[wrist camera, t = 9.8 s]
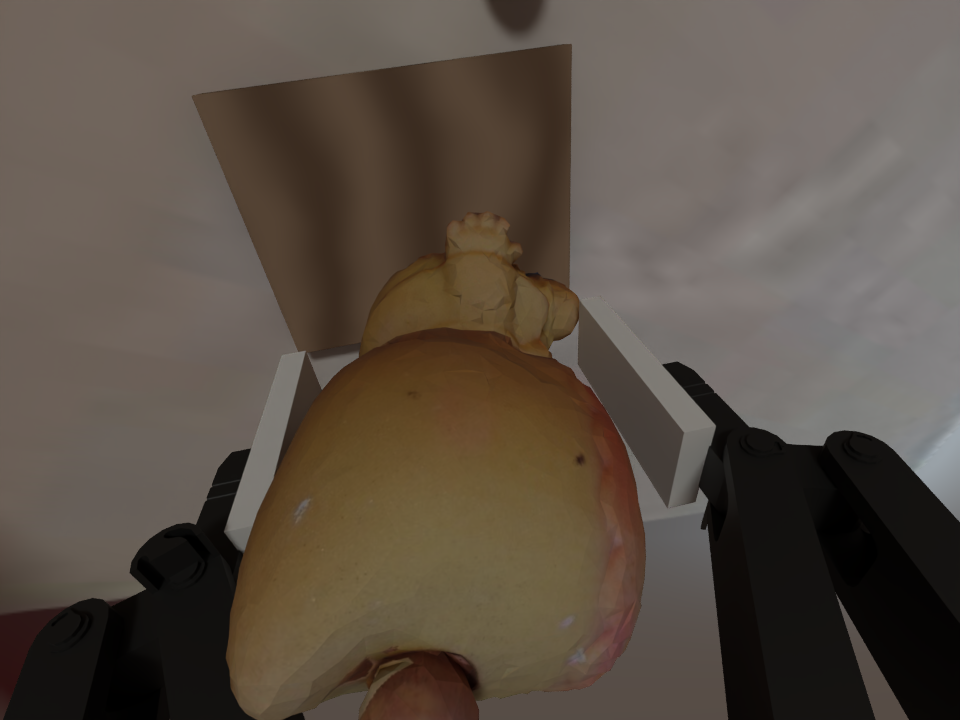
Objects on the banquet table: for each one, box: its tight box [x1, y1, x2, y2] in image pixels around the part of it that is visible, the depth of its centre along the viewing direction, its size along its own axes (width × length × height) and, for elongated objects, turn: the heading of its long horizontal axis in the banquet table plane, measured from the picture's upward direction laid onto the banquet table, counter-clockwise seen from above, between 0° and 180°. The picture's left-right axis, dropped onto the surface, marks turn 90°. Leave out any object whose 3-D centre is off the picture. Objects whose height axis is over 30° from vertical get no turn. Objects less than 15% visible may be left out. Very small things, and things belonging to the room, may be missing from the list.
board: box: [192, 44, 572, 353], centre depth 29 cm, size 20×16×2 cm
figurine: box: [226, 211, 646, 720], centre depth 12 cm, size 10×8×15 cm
